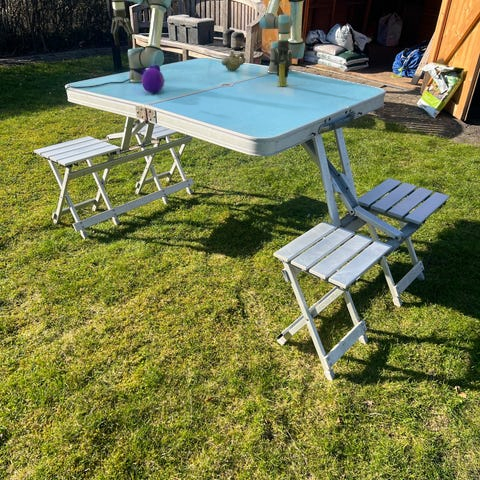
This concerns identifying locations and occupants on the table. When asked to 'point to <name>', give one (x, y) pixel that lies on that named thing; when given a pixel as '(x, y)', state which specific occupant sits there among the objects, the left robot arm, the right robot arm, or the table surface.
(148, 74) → the toy
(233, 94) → the table surface
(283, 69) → the olive green upright cylinder
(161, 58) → the left robot arm
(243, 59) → the teapot
